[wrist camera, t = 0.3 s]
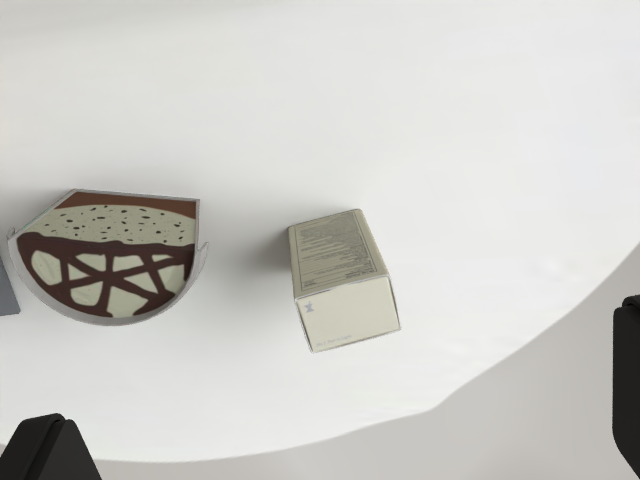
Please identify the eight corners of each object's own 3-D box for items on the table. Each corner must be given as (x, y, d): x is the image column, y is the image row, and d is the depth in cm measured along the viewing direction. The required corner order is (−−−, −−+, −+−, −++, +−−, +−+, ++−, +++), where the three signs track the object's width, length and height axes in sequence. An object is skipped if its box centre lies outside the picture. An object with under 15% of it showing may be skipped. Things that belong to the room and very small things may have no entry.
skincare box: (300, 272, 50) (307, 357, 38) (286, 224, 48) (289, 299, 37) (374, 253, 49) (403, 334, 38) (363, 204, 47) (390, 273, 36)
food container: (58, 260, 48) (6, 327, 39) (53, 187, 45) (-3, 240, 36) (215, 271, 49) (201, 339, 40) (218, 200, 47) (204, 255, 37)
